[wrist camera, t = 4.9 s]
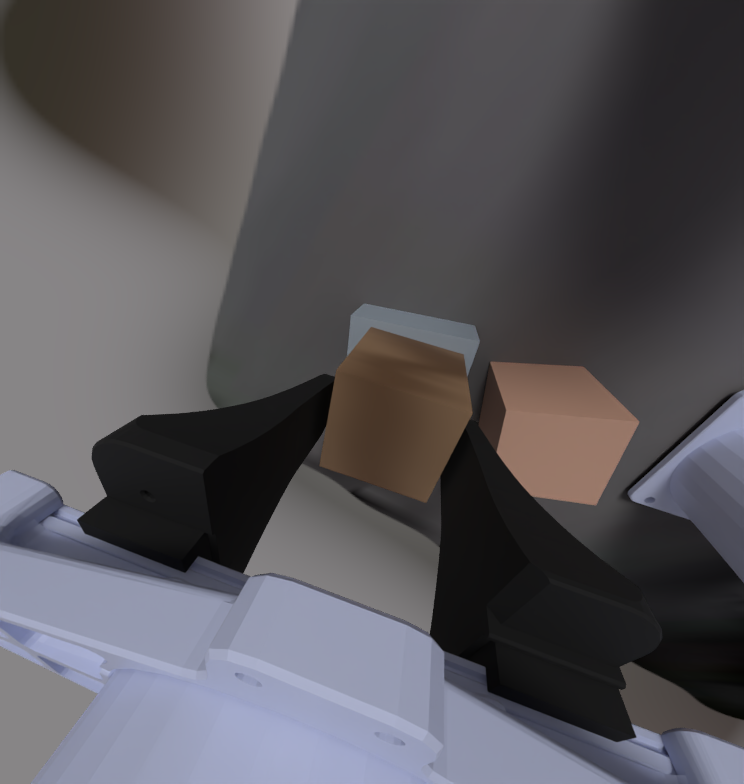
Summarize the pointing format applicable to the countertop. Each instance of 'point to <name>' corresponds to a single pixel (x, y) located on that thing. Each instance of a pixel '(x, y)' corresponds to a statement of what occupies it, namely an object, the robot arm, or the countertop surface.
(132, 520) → the robot arm
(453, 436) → the walnut block
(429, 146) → the countertop surface
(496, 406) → the terracotta block
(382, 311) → the plinth block
